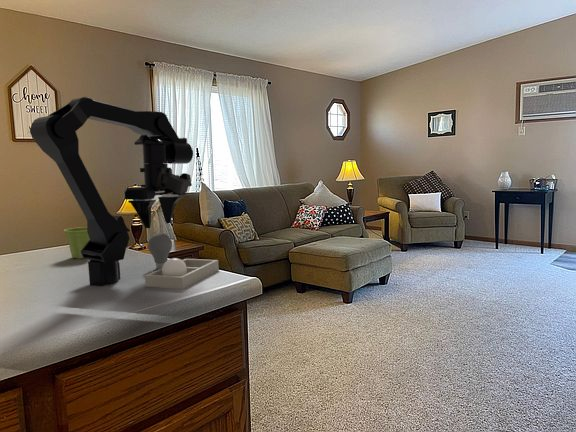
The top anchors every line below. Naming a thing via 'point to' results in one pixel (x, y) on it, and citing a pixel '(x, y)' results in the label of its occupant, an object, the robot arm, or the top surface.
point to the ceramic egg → (174, 267)
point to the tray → (194, 273)
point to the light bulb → (160, 248)
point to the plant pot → (77, 240)
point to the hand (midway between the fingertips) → (158, 225)
